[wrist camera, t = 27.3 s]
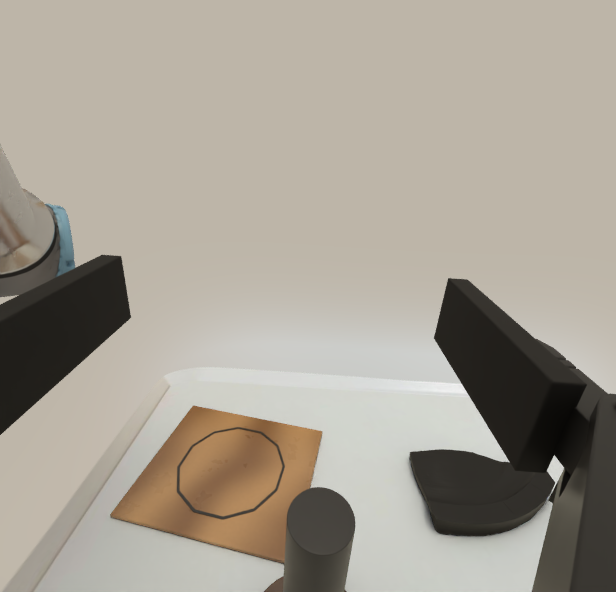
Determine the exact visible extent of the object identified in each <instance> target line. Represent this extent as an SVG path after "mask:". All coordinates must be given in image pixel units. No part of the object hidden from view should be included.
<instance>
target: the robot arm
mask: <svg viewBox="0 0 616 592" xmlns="http://www.w3.org/2000/svg"><path fill="white" fill-rule="evenodd" d="M14 295H19V296H17V297H15V298H13V299H11V300H9V301H7V302H5V303H3V304H1V305H0V435H1V434H2V433H3V432H4V431H5V430H6V429H7V428H9V427H10V426H11V425H12V424H13V423H14V422H15V421H16V420H17V419H19V418H20V417H21V416H22V415H23V414H24V413H25V412H26V411H27V410H28V409H30V408H31V407H32V406H33V405H34V404H35V403H36V402H37V401H39V400H40V399H41V398H42V397H43V396H44V395H45V394H46V393H48V392H49V391H50V390H51V389H52V388H53V387H54V386H55V385H56V384H58V383H59V382H60V381H61V380H62V379H63V378H64V377H65V376H66V375H68V374H69V373H70V372H71V371H72V370H73V369H74V368H75V367H76V366H77V365H79V364H80V363H81V362H82V361H83V360H84V359H85V358H87V357H88V356H89V355H90V354H91V353H92V352H93V351H94V350H95V349H96V348H98V347H99V346H100V345H101V344H102V343H103V342H104V341H105V340H106V339H108V338H109V337H110V336H111V335H112V334H113V333H114V332H115V331H117V330H118V329H119V328H120V327H121V326H122V325H123V324H124V323H126V321H128V320H129V319H130V318H131V315H130V309H129V302H128V296H127V290H126V284H125V277H124V271H123V265H122V259H121V256H109V255H101V256H99V257H97V258H95V259H93V260H91V261H89V262H87V263H85V264H83V265H80V266H78V267H76V268H75V263H74V250H73V243H72V236H71V230H70V225H69V220H68V215H67V213H66V211H65V209H64V208H63V207H61V206H55V205H54V206H53V205H51V204H44V203H43V202H42V201H41V200H39V198H37V197H36V196H35V195H33V194H32V193H30V192H28V191H27V190H25V189H23V188H22V187H21V186H20V183H19V181H18V179H17V178H16V175H15V174H14V172H13V169H12V167H11V165H10V163H9V161H8V159H7V157H6V156H5V153H4V151H3V150H2V147H1V145H0V297H5V296H14ZM434 339H435V341H436V342H437V344H438V345H439V347H440V349H441V350H442V352H443V354H444V355H445V357H446V358H447V360H448V362H449V363H450V365H451V367H452V368H453V370H454V372H455V373H456V375H457V377H458V378H459V379H460V381H461V383H462V385H463V386H464V388H465V390H466V391H467V393H468V395H469V396H470V398H471V399H472V401H473V403H474V404H475V406H476V408H477V409H478V411H479V412H480V414H481V416H482V417H483V419H484V421H485V422H486V424H487V426H488V427H489V429H490V430H491V432H492V434H493V435H494V437H495V439H496V440H497V442H498V444H499V445H500V447H501V448H502V450H503V452H504V453H505V455H506V457H507V458H508V460H509V461H510V463H511V465H512V466H513V468H514V470H515V471H523V472H538V473H546V471H547V469H548V467H549V464H550V462H551V460H552V458H553V456H554V455H555V456H556V458H557V459H558V460H559V461H560V463H561V464H562V465H563V467H564V470H563V472H562V474H561V476H560V478H559V480H558V482H557V484H556V486H555V488H554V490H553V492H552V494H551V496H550V498H549V500H548V501H550V502H552V503H553V506H552V511H551V515H550V519H549V523H548V527H547V531H546V536H545V540H544V544H543V548H542V552H541V556H540V560H539V565H538V569H537V573H536V577H535V581H534V585H533V589H532V592H616V394H607V393H606V392H605V391H604V390H603V389H602V388H600V387H599V386H598V385H597V384H596V383H594V382H593V381H592V380H591V379H590V378H588V377H587V376H586V375H585V374H584V373H583V372H581V371H580V370H579V369H576V367H575V366H574V365H573V364H572V363H571V362H569V361H568V360H566V358H565V357H564V356H562V355H561V354H560V353H559V352H558V351H556V350H555V349H554V348H553V347H551V346H549V345H547V344H545V343H543V342H541V341H539V340H538V339H535V338H533V337H532V336H531V335H530V334H529V333H528V332H527V331H525V330H524V329H523V328H522V327H521V326H520V325H519V324H518V323H516V322H515V321H514V320H513V319H512V318H511V317H509V316H508V315H507V314H506V313H505V312H504V311H503V310H502V309H500V308H499V307H498V306H497V305H496V304H495V303H493V302H492V301H491V300H490V299H489V298H488V297H487V296H485V295H484V294H483V293H482V292H481V291H480V290H479V289H478V288H476V287H475V286H474V285H473V284H472V283H471V282H470V281H468V280H464V279H451V278H449V279H448V282H447V286H446V290H445V294H444V298H443V303H442V307H441V311H440V315H439V319H438V324H437V328H436V333H435V336H434Z"/></svg>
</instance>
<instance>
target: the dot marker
mask: <svg viewBox="0 0 616 592" xmlns="http://www.w3.org/2000/svg"><path fill="white" fill-rule="evenodd" d="M354 531H355V517H354V513H353V511H352V509H351V507H350V505H349V504H348V502H347V501H346V500H345V499H344V498H343V497H342V496H341V495H340V494H338V493H337V492H335V491H333V490H330V489H327V488H320V487H317V488H310V489H307V490H305V491H303V492H301V493H300V494H298V495H297V496H296V497H295V498H294V499H293V501H292V502H291V504H290V506H289V509H288V513H287V524H286V543H285V562H284V581H283V592H344V589H345V583H346V578H347V572H348V566H349V560H350V555H351V549H352V543H353V537H354Z"/></svg>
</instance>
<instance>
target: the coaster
mask: <svg viewBox="0 0 616 592" xmlns="http://www.w3.org/2000/svg"><path fill="white" fill-rule="evenodd" d="M283 581H284V576H283V577H281V578H280V579H278V580H276V581H275V582H274V583H273V584H271V585H270V586H269V587H268V588H267V589H266V590H265V591H264V592H283ZM344 592H346V591H345V590H344Z"/></svg>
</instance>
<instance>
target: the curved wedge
mask: <svg viewBox="0 0 616 592" xmlns="http://www.w3.org/2000/svg"><path fill="white" fill-rule="evenodd" d="M410 460H411V465H412V469H413V472H414V475H415V478H416V481H417V483H418V486H419V488H420V490H421V492H422V494H423V496H424V498H425V500H426V502H427V504H428V507H429V509H430V513H431V516H432V519H433V523H434V527H435V529H436V531H437V532H439V533H442V534H452V535H464V536H486V535H492V534H496V533H502V532H505V531H509V530H511V529H513V528H516V527H518V526H519V525H521V524H523V523H524V522H526V521H528V520H530V519H531V518H532V517H533V516H534V515H535V514H536V513H537V512H538V511H539V510H540V509H541V508H542V506H543V505H544V503H545V501H546V499H547V497H548V496H549V494H550V492H551V491H552V489H553V487H554V484H555V482H554V480H553V479H552V478H551V476H550V475H549V474H548V472H547V471H546V473H538V472H523V471H515V470H514V468H513V466H512V465H511V463H509V462H500V461H496V460H493V459H490V458H488V457H485V456H481V455H478V454H475V453H473V452H466V451H456V450H429V451H418V452H410Z"/></svg>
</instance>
